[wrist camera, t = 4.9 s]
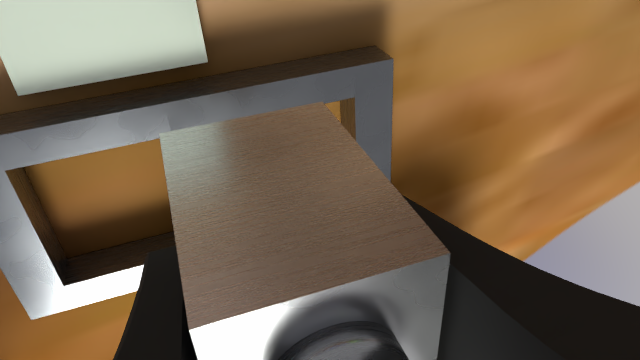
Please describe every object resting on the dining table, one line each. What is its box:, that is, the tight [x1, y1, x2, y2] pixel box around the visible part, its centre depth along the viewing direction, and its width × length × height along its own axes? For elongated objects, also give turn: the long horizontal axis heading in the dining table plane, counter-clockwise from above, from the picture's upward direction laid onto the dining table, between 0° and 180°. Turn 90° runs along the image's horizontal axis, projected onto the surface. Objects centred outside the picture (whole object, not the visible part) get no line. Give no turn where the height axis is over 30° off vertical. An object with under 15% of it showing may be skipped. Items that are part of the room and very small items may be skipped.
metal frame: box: [0, 46, 393, 320], centre depth 19 cm, size 15×8×2 cm, turn 94°
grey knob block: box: [159, 102, 451, 360], centre depth 10 cm, size 4×4×7 cm
